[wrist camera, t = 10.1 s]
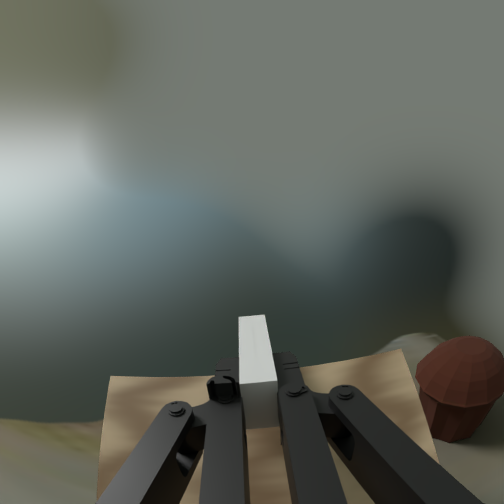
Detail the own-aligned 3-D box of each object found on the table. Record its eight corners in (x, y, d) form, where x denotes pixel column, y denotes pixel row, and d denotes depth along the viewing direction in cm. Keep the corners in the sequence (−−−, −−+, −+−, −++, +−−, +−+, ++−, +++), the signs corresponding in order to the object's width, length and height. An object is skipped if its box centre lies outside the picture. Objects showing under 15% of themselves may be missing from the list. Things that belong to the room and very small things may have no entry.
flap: (96, 530, 9) (110, 375, 17) (99, 530, 9) (113, 378, 17) (446, 496, 9) (400, 348, 17) (443, 497, 9) (398, 352, 17)
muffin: (457, 379, 31) (472, 314, 29) (505, 421, 20) (534, 349, 18) (388, 407, 30) (400, 337, 28) (433, 466, 19) (466, 393, 17)
